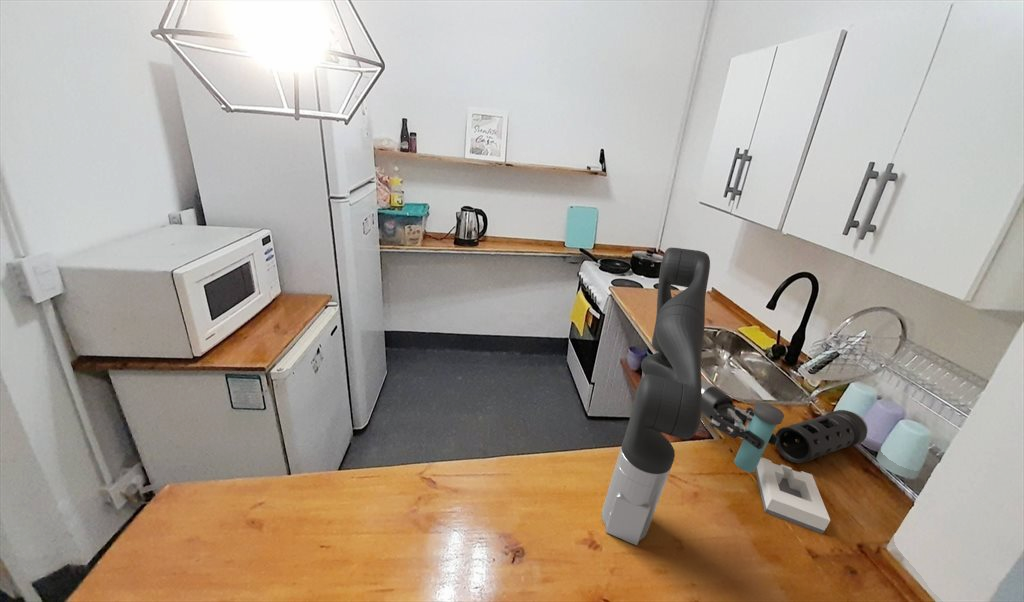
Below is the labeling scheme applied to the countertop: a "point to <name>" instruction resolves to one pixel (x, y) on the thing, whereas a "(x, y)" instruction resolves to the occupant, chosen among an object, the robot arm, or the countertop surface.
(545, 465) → the countertop surface
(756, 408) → the peg
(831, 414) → the muzzle brake
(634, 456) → the robot arm
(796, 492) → the keyhole plate
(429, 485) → the countertop surface
